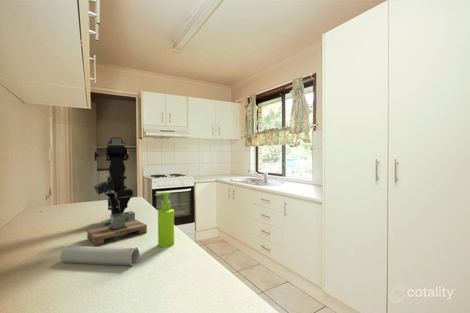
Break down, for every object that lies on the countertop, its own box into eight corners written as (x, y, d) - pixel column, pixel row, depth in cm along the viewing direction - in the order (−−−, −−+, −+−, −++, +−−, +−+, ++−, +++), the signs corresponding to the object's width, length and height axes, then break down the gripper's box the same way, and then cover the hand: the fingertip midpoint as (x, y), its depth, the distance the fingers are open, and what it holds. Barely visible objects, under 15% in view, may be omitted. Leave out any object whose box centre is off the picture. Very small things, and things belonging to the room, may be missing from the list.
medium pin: (122, 225, 112) (122, 212, 112) (131, 222, 115) (131, 211, 115) (125, 227, 109) (125, 214, 109) (135, 224, 112) (134, 212, 112)
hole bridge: (87, 239, 94) (87, 230, 94) (136, 227, 108) (136, 219, 108) (95, 246, 86) (95, 237, 86) (146, 232, 101) (146, 224, 101)
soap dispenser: (154, 243, 89) (154, 192, 89) (173, 240, 92) (172, 190, 91) (156, 249, 84) (155, 194, 83) (175, 245, 86) (174, 193, 86)
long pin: (110, 236, 97) (110, 215, 97) (121, 233, 100) (121, 212, 100) (114, 238, 94) (113, 217, 94) (125, 235, 97) (124, 214, 97)
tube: (54, 253, 72) (129, 256, 69) (67, 242, 77) (137, 244, 74) (59, 267, 74) (132, 269, 71) (71, 254, 79) (140, 257, 76)
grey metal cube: (101, 229, 105) (101, 221, 105) (112, 227, 109) (111, 219, 109) (104, 232, 102) (104, 223, 102) (115, 229, 106) (115, 220, 105)
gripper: (89, 174, 97) (89, 210, 97) (103, 177, 84) (103, 219, 85) (116, 172, 105) (117, 206, 106) (133, 175, 92) (134, 213, 93)
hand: (117, 211), depth 97 cm, fingers open, 9 cm apart
